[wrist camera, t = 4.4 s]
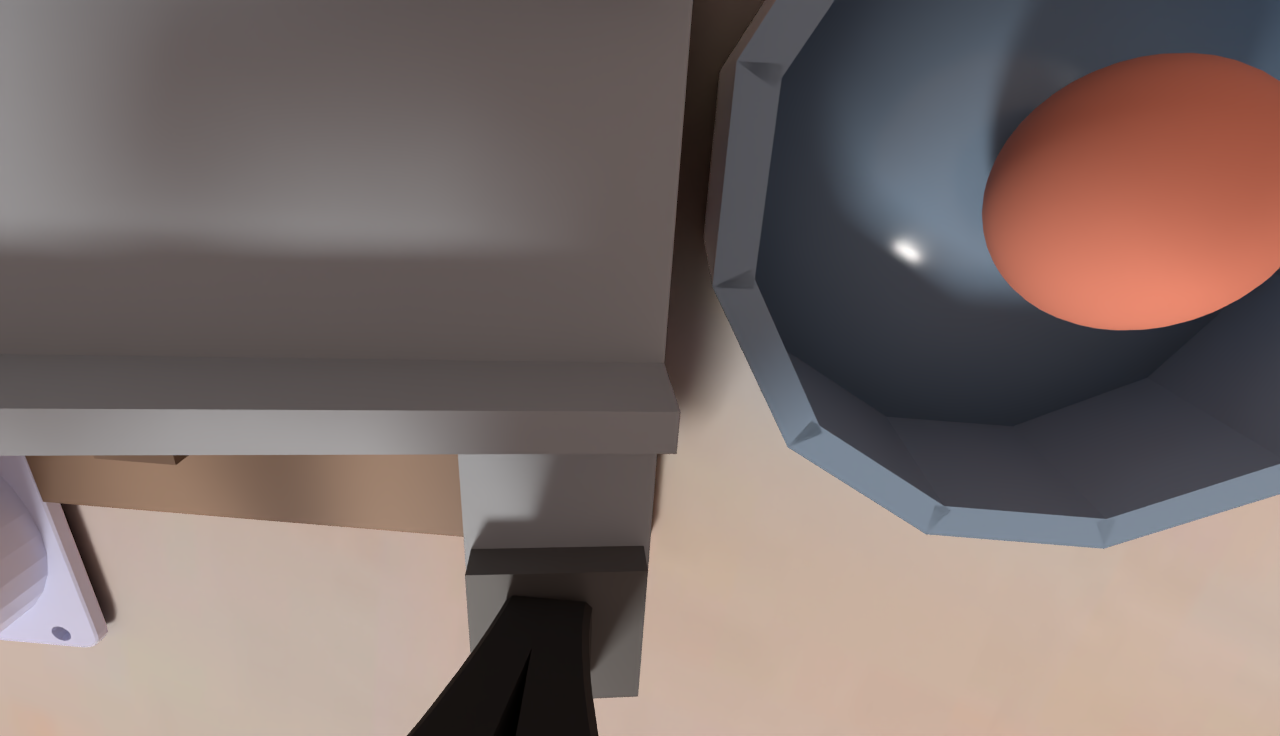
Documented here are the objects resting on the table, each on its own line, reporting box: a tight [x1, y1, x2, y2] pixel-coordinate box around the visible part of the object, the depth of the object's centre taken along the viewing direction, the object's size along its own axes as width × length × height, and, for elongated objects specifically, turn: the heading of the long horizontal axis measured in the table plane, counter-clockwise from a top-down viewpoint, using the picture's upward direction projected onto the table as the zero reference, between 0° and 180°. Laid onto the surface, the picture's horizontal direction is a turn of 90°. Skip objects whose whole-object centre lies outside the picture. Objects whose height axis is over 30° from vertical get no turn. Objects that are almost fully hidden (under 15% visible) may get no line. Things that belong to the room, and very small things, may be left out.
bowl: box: [703, 0, 1280, 549], centre depth 10 cm, size 11×11×4 cm
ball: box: [982, 53, 1280, 330], centre depth 10 cm, size 4×4×4 cm
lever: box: [0, 0, 693, 698], centre depth 8 cm, size 15×12×2 cm
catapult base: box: [25, 454, 464, 537], centre depth 10 cm, size 15×18×5 cm
